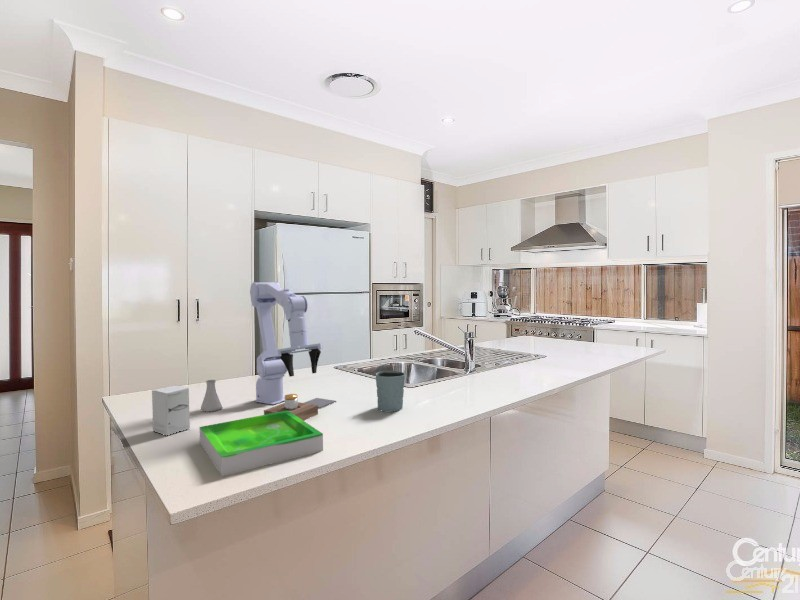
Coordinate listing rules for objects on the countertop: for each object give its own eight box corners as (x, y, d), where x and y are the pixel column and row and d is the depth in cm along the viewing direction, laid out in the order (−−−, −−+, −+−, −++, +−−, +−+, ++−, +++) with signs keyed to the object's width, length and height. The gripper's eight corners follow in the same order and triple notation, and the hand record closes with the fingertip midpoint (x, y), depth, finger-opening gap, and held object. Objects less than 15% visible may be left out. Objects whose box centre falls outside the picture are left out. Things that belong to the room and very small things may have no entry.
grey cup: (370, 408, 149) (369, 373, 149) (390, 402, 156) (390, 369, 156) (391, 414, 142) (390, 378, 142) (411, 407, 150) (411, 373, 149)
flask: (226, 408, 150) (225, 380, 150) (205, 413, 145) (204, 384, 145) (217, 405, 155) (216, 377, 155) (196, 409, 150) (195, 381, 149)
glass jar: (282, 417, 140) (282, 396, 139) (291, 414, 143) (290, 393, 143) (291, 419, 138) (291, 397, 138) (300, 416, 141) (300, 394, 141)
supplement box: (166, 436, 124) (165, 393, 123) (152, 432, 128) (150, 389, 127) (190, 429, 130) (189, 387, 129) (176, 425, 134) (175, 384, 133)
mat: (300, 405, 154) (300, 404, 154) (316, 398, 162) (316, 397, 162) (320, 408, 150) (320, 407, 149) (336, 401, 157) (336, 400, 157)
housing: (264, 419, 138) (263, 410, 138) (290, 409, 149) (290, 400, 149) (292, 425, 132) (292, 415, 132) (317, 414, 143) (317, 405, 143)
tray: (200, 445, 119) (199, 427, 118) (288, 426, 133) (287, 410, 133) (221, 478, 98) (221, 456, 98) (323, 452, 113) (322, 433, 112)
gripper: (271, 335, 138) (276, 378, 136) (315, 329, 136) (320, 372, 134) (280, 336, 145) (285, 376, 143) (322, 329, 143) (327, 371, 141)
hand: (303, 374), depth 139 cm, fingers open, 7 cm apart
